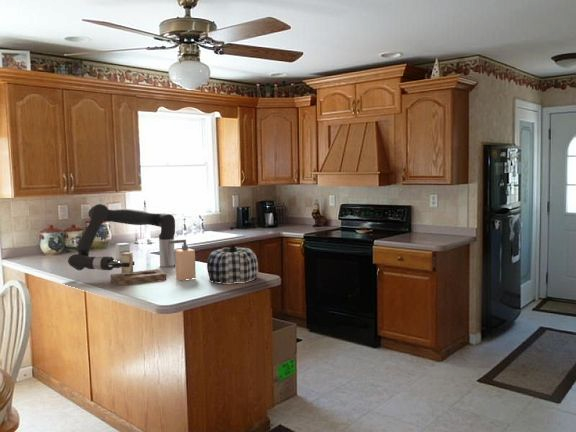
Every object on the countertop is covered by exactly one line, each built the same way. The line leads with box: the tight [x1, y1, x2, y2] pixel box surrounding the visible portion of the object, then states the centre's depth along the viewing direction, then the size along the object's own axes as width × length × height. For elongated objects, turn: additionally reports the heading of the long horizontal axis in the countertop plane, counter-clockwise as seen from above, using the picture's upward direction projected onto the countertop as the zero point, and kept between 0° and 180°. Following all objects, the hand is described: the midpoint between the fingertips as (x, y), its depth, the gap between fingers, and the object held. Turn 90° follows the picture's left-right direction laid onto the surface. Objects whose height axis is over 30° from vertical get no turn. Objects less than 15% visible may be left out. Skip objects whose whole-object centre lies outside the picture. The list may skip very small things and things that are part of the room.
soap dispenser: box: [169, 239, 197, 281], centre depth 288 cm, size 13×9×22 cm
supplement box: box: [115, 242, 131, 260], centre depth 345 cm, size 7×7×13 cm
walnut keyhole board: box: [110, 268, 167, 287], centre depth 287 cm, size 26×16×4 cm, turn 122°
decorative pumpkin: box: [206, 244, 259, 283], centre depth 285 cm, size 30×29×20 cm
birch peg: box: [120, 252, 134, 276], centre depth 283 cm, size 5×5×16 cm
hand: (131, 264), depth 282 cm, fingers closed on birch peg, 4 cm apart
